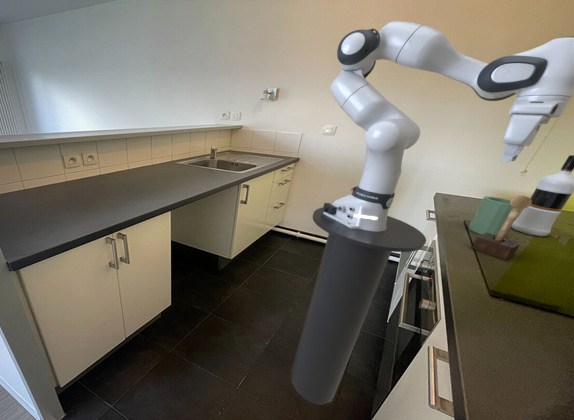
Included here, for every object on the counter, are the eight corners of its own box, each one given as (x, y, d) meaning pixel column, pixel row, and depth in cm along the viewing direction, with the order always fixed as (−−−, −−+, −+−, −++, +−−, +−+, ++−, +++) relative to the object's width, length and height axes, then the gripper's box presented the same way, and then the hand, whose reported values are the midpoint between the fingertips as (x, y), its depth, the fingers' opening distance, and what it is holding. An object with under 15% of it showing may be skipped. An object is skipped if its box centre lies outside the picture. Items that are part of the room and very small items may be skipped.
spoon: (484, 250, 80) (516, 195, 73) (482, 248, 82) (513, 194, 74) (501, 254, 79) (535, 198, 71) (499, 252, 80) (532, 196, 73)
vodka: (508, 229, 97) (553, 154, 86) (511, 224, 102) (553, 152, 91) (546, 239, 90) (600, 158, 79) (547, 233, 95) (598, 156, 84)
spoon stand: (471, 248, 82) (477, 236, 80) (480, 243, 85) (486, 232, 83) (505, 260, 75) (512, 247, 74) (513, 255, 79) (521, 242, 77)
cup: (464, 228, 96) (479, 198, 91) (473, 225, 100) (489, 195, 95) (498, 239, 89) (517, 206, 84) (507, 235, 93) (526, 203, 88)
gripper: (521, 112, 73) (497, 158, 78) (512, 105, 62) (484, 159, 67) (556, 113, 68) (528, 162, 73) (553, 105, 57) (520, 164, 62)
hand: (507, 161), depth 70 cm, fingers open, 8 cm apart
